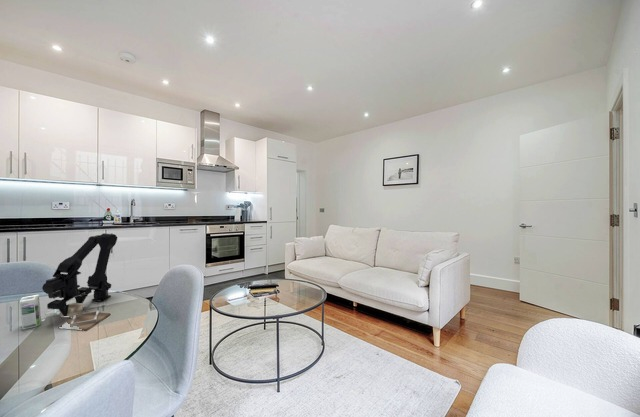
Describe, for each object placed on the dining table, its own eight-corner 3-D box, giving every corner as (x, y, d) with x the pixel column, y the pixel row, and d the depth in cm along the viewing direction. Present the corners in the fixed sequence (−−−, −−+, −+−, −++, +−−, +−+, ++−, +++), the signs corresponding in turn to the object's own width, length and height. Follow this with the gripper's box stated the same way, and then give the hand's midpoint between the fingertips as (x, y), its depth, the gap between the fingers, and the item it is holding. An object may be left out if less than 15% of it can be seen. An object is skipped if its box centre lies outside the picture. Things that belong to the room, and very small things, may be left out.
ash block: (71, 311, 140) (71, 302, 139) (82, 311, 140) (82, 303, 139) (60, 317, 134) (60, 308, 133) (72, 318, 134) (71, 309, 133)
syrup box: (22, 330, 122) (19, 301, 120) (24, 324, 126) (21, 296, 124) (39, 326, 126) (37, 298, 124) (41, 320, 130) (39, 293, 128)
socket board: (84, 312, 139) (84, 308, 138) (110, 314, 139) (110, 310, 138) (58, 328, 125) (57, 323, 125) (86, 331, 125) (86, 326, 124)
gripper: (72, 276, 144) (74, 302, 146) (34, 292, 125) (37, 321, 128) (91, 278, 144) (93, 303, 146) (57, 293, 125) (59, 323, 128)
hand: (71, 312), depth 137 cm, fingers open, 7 cm apart
